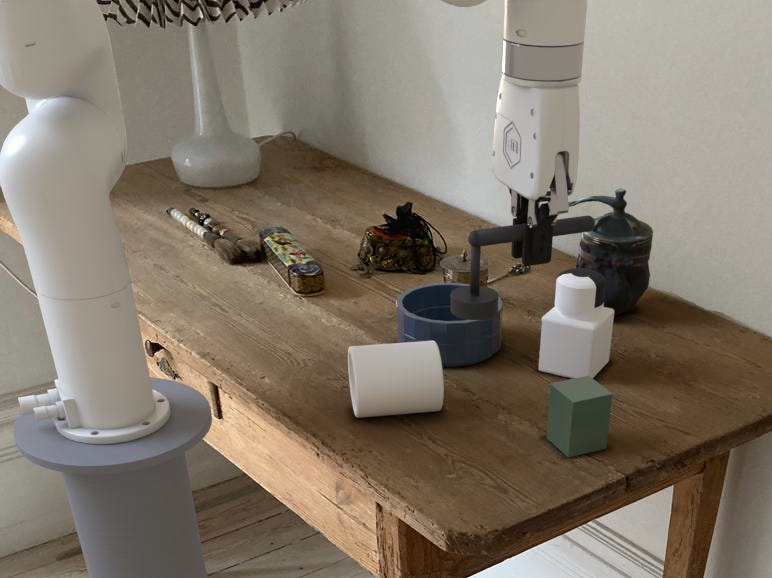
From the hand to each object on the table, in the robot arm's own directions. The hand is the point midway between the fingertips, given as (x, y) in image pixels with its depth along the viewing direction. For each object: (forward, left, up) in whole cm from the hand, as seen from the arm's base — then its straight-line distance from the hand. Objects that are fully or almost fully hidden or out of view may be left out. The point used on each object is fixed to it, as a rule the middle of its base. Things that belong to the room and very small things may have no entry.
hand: (531, 258), depth 108 cm
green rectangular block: (+3, -7, -19) cm, 20 cm away
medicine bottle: (+13, +11, -19) cm, 26 cm away
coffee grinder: (+25, +25, -19) cm, 40 cm away
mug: (-12, +11, -19) cm, 25 cm away
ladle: (-1, 0, -5) cm, 5 cm away
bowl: (+1, +23, -19) cm, 30 cm away
